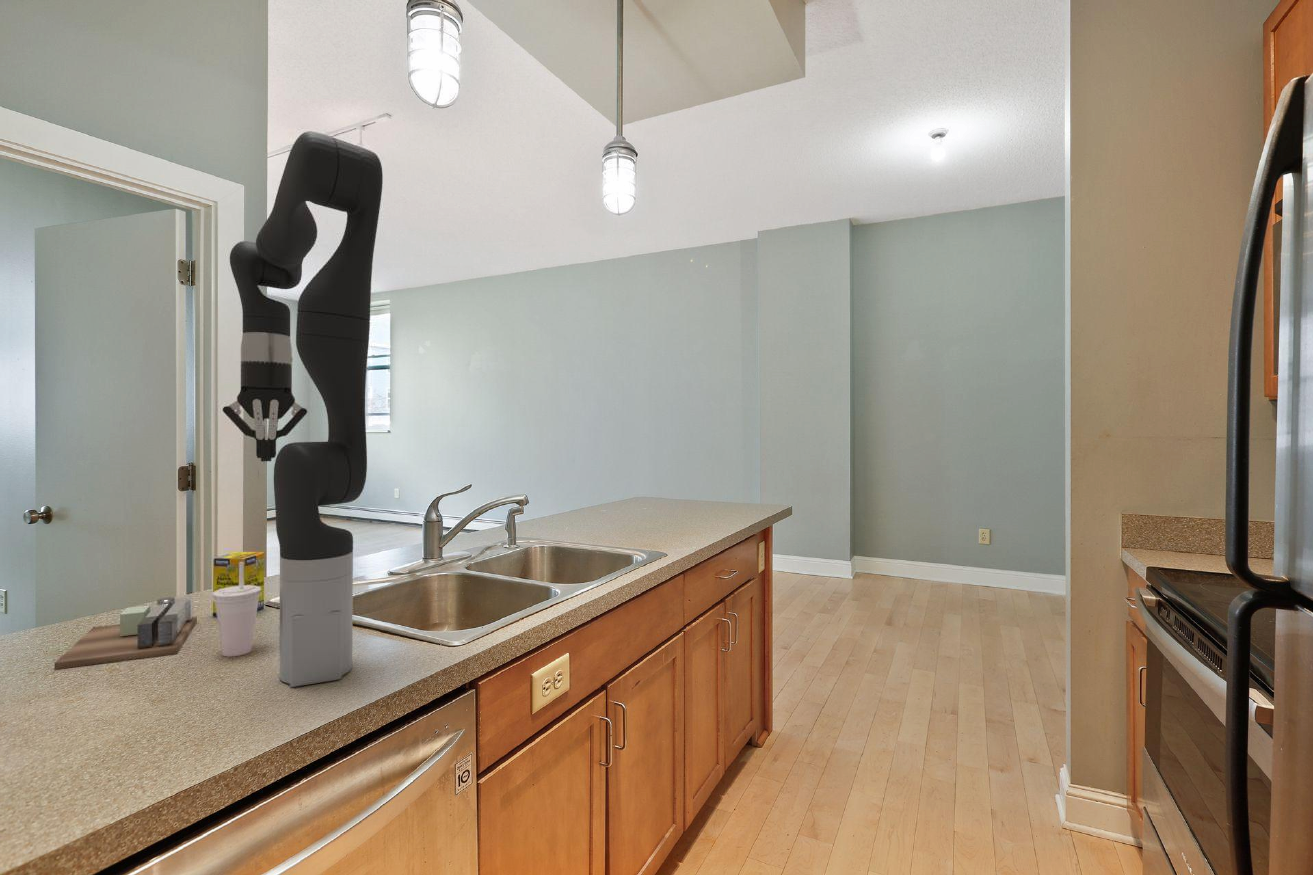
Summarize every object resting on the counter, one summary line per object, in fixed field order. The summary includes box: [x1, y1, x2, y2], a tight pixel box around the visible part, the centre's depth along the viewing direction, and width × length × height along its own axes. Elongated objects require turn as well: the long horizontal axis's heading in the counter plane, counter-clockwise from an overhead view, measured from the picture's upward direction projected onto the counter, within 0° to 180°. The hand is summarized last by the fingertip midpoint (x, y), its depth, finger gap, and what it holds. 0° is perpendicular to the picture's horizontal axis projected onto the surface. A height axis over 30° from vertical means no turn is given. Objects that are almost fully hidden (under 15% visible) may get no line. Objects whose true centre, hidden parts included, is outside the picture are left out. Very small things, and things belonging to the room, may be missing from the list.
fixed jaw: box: [156, 596, 194, 646], centre depth 101 cm, size 15×5×4 cm, turn 28°
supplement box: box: [212, 551, 266, 618], centre depth 115 cm, size 6×6×11 cm
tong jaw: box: [138, 604, 169, 648], centre depth 99 cm, size 12×2×4 cm, turn 28°
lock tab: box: [119, 605, 151, 636], centre depth 101 cm, size 4×3×4 cm
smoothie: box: [211, 562, 262, 658], centre depth 96 cm, size 6×6×14 cm
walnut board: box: [53, 615, 198, 671], centre depth 99 cm, size 17×14×1 cm
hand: (266, 461), depth 107 cm, fingers closed
